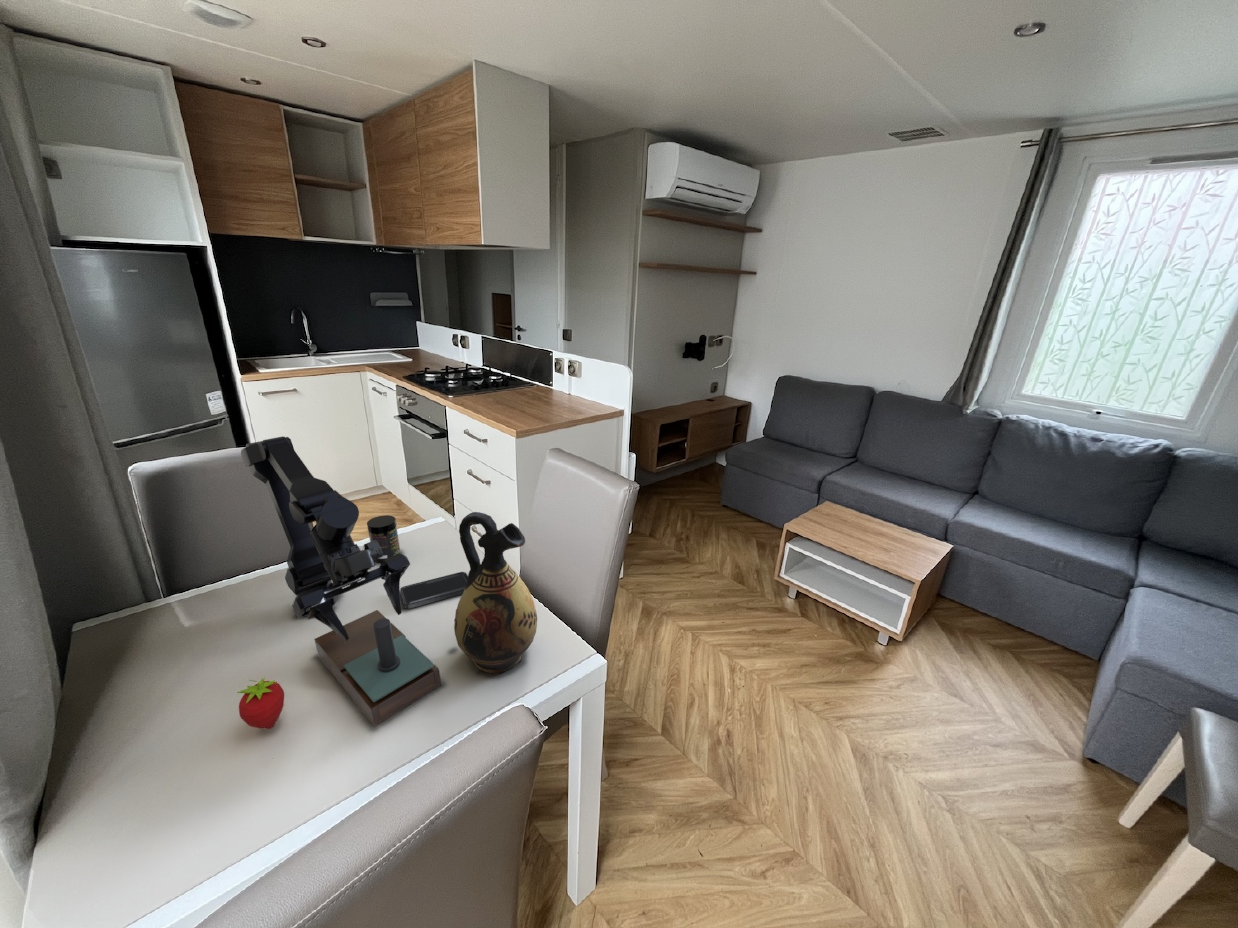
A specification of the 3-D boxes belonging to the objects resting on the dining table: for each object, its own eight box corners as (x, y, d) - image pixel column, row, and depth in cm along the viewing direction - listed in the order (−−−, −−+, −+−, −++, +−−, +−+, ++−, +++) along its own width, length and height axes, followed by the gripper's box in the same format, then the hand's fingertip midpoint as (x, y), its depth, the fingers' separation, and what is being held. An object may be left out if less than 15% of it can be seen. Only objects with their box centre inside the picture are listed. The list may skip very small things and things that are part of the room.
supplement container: (403, 548, 133) (398, 514, 130) (398, 561, 127) (392, 526, 123) (376, 551, 132) (370, 516, 128) (370, 564, 126) (363, 528, 122)
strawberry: (244, 753, 76) (227, 703, 72) (251, 716, 82) (236, 669, 79) (289, 738, 78) (275, 689, 75) (293, 703, 85) (280, 657, 81)
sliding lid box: (318, 656, 95) (314, 638, 94) (380, 626, 104) (377, 609, 102) (374, 726, 81) (370, 707, 79) (441, 684, 89) (438, 666, 88)
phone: (472, 587, 115) (404, 605, 108) (473, 591, 116) (405, 609, 109) (464, 570, 122) (399, 586, 115) (465, 574, 122) (400, 591, 115)
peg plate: (343, 667, 87) (334, 623, 83) (402, 636, 94) (396, 595, 91) (373, 702, 80) (364, 656, 76) (434, 666, 87) (428, 622, 84)
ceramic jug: (551, 637, 102) (546, 506, 91) (517, 693, 88) (507, 546, 77) (477, 621, 106) (465, 494, 95) (434, 672, 92) (414, 530, 82)
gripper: (283, 553, 77) (324, 642, 75) (398, 514, 91) (436, 588, 88) (277, 577, 85) (314, 658, 82) (384, 538, 98) (419, 607, 95)
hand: (374, 626), depth 87 cm, fingers open, 9 cm apart
